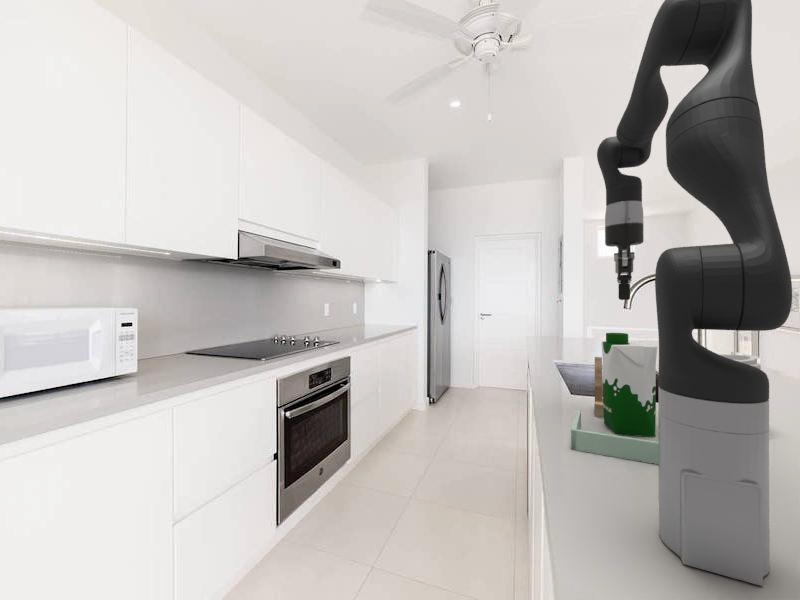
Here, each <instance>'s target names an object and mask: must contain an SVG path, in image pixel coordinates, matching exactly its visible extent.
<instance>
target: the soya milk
mask: <svg viewBox="0 0 800 600" xmlns="http://www.w3.org/2000/svg"><path fill="white" fill-rule="evenodd" d="M601 353H602V354H601V355H602V356H601V357H602V397H603V411H604V418H603V423H604V424H605V425H606V426H607V428H609V429H610V430H611V431H612V432H613V433H614V435H616V434H622V435H621V436H633V435H641V436H640V437H649V436H655V437H656V425H657V424H656V421H657V419H656V418H657V416H656V413H657V410H656V408H657V407H656V406H657V405H656V403H657V400H656V399H657V397H656V395H657V394H656V393H657V392H656V391H657V390H656V389H657V388H656V387H657V385H656V384H657V383H656V381H657V377H656V375H657V371H656V369H657V368H656V367H657V353H658V346H655V345H652V344H649V343H645V342H641V341H629V334H628V333H625V332H606V333H605V340H604V341H601Z"/></svg>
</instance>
